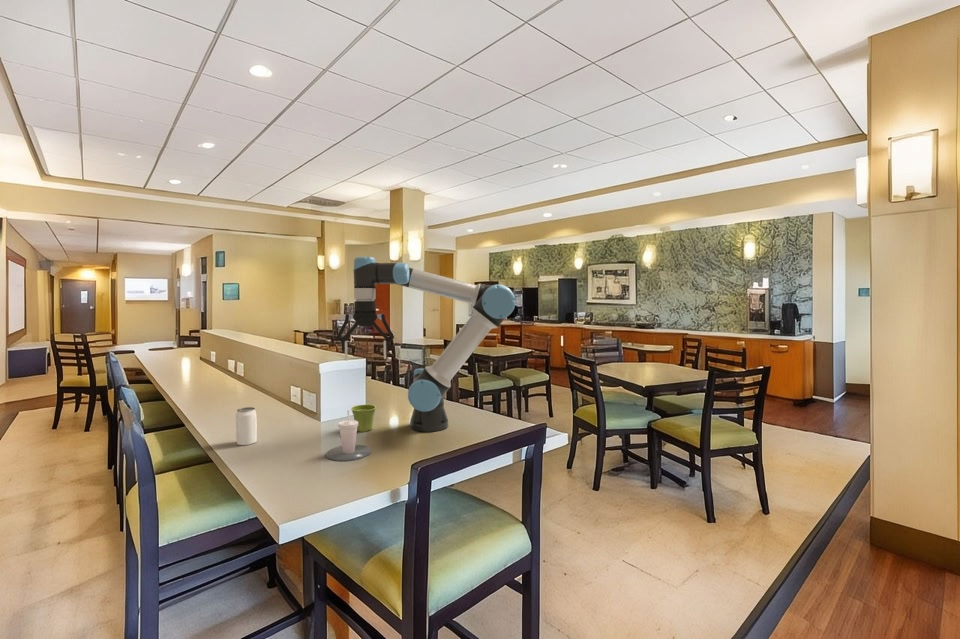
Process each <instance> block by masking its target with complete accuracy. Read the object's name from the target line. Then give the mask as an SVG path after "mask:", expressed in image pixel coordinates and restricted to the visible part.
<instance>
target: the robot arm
mask: <svg viewBox="0 0 960 639" xmlns="http://www.w3.org/2000/svg"><path fill="white" fill-rule="evenodd" d="M380 284H381V285H397V286H400V287H405V288H410V289H413V290H417V291H421V292H424V293H428V294H432V295H436V296H439V297H444V298H447V299H451V300H455V301H458V302H459V301H460V302H461V303H466V304H470V305H472V314H471V316H470V317H468V318H469V319H467V321H466V322H465V323H464V325H463V326H462V327H461V329H460V330H459V331H458V332H457V334H456V335H455V336H454V337H453V339H452V340H451V341H450V342H449V343H448V345H447V346H446V348H444V350H443V351H442V352H441V354H440V355H439V356H438V357H437V359H436V360H435V361H434V363H433V364H432V365H426V366H425V367H424V368H415V369H414V371H413V375H412V376H413V382H412V383H411V384H410V385H409V387H408V391H407V399H408V402H409V404H410V405H411V406H412V408H413V411H412V414H411V418H410V420H409V428H410V429H412V430H413V431H416V432H423V433H424V432H426V433H429V432H431V433H432V432H439V431H443V430H445V429H448V427H449V418H448V415H447V412H446V409H445V395H446V393H447V392H448V390H450V388H451V387H452V382H451V380H452V379H453V377H455V375H456V374H457V373H458V372H459V370H460V369H461V368H462V366H463V365H464V364H465V363H466V361H467V360H468V359H469V358H470V356H471V355H472V354H473V353H474V351H475V350H476V349H477V348H478V346H480V344H481V343H482V342H483V340H484V339H485V338H486V336H488V334H489V332H490V331H492V329H498V328H499V327H500V325H501V324H502V323H503V322H504V321H505V320H506V318H507V317H509V316H510V315H511V314H512V313H513V312H514V310H515V308H516V307H515V306H516V297H515V294H514V292H513V290H512V289H510V288H509V287H507V286H506V285H504V284H493V285H489V284H484V283H478V284H473V283H469V282H465V281H462V280H459V279H455V278H450V277H448V276H443V275H439V274H434V273H431V272H427V271H424V270H420V269H415V268H413V267H409V264H408V263H404V262H377V261H376V259H375V257H372V256H356V257H355V258H354V260H353V299H354V302H353V305H354V307H353V310H354V311H353V313H354V314H349V313H345V317H344V322H343V323H342V324H341V328H340V329H339V331H338V333H337V335H336V337H335V340H336V341H339V342H340V343H341V351H342V352H344V360H345V361H348V341H346V340H347V339H349V337H350V335H351V334H352V333H353V332H354V331H355V329H356V328H358V326H359V327H374V329H375V330H376V331H377V332H378V333H379V334H380V335H381V336H382V337H383V338H384V339H385V340H383V360H386V359H387V350H390V341H391V340H394V338H395V336H394V334H393V331H392V330H391V328H390V327H389V325H388V323H387V320H386V316H385V313H380V314H377V310H376V309H377V304H376V302H377V301H375V300H376V297H377V294H376V293H377V292H376V290H377V289H376V285H380ZM352 319H353V320H354V321H355V323H354V324H353V325H352V326H351V328H350V329H348V331H347V332H346V334H345V335H344V336H343V337H342V335H343V333H344V331H345V328H346V327H347V325H348V323H349V321H351V320H352ZM377 319H379V321H382V324H383V325H384V328H385V330H386V332H387V333H388V335H389V336H388V335H387V334H386V333H385V331H383V330H382V328H381V327H380V326H379V325H378V324H377V323H376V322H375V321H376V320H377Z"/></svg>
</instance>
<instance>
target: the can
mask: <svg viewBox="0 0 960 639" xmlns="http://www.w3.org/2000/svg"><path fill="white" fill-rule="evenodd" d="M255 409H256V408H255V407H251V406H249V407H240V408H238V409H236V414H235V432H236V433H235V434H236V444H237V446H251V445H254V444H255V443H257V441H258V429H257V428H258V427H257V423H258V422H257V412H256V410H255Z"/></svg>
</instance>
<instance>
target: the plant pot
mask: <svg viewBox="0 0 960 639" xmlns="http://www.w3.org/2000/svg"><path fill="white" fill-rule="evenodd" d="M376 409H377V406H376V405H374V404H358V405H354V406H352V407H351V408H350V410H351V411H352V414H353V420H355V421H358V426H357V432H360V433H363V432H367V431H372V429H373V425H374V416H375V412H376Z"/></svg>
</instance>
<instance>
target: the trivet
mask: <svg viewBox="0 0 960 639" xmlns="http://www.w3.org/2000/svg"><path fill="white" fill-rule="evenodd" d="M371 451H372V450H371V447H369V446H367V445H363V444H362V445H361V444H355V452H353V453H349V454H346V453H343V449H342V445H339V446H335V447H333V448H331V449H329V450H327V452H326V458H327V459H328V460H331V461H334V462H351V461H357V460H361V459H363V457H364V458H366V457H368V456H369V455H370V454H371Z"/></svg>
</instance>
